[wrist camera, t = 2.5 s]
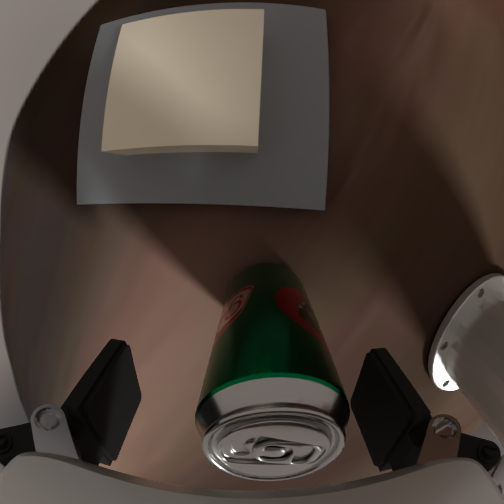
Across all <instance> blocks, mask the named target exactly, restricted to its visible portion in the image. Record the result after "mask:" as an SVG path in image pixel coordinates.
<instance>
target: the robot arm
mask: <svg viewBox="0 0 504 504" xmlns="http://www.w3.org/2000/svg"><path fill="white" fill-rule="evenodd" d="M428 371H429V375H430V377H431V380H432V381H433V382H434V383H435V385H436V386H437V387H438V388H440V389H441V390H446V391H451V390H457V389H460V390H461V391H462V393H463V394H464V395H465V396H466V398H467V399H468V400H469V402H470V403H471V404H472V405H473V407H474V408H475V409H476V411H477V412H478V413H479V415H480V416H481V417H482V419H483V420H484V421H485V423H486V424H487V426H488V427H489V428H490V430H491V431H492V433H493V434H494V435H495V437H496V438H497V440H498V441H499V442H500V444H501V446H502V447H503V448H504V275H501V274H499V273H492V274H488V275H485V276H483V277H482V278H480V279H478V280H477V281H475V282H474V283H473V284H472V285H471V286H469V287H468V288H467V289H466V290H465V291H464V292H463V293H462V295H461V296H460V297H459V298H458V299H457V300H456V302H455V303H454V304H453V306H452V307H451V308H450V310H449V311H448V313H447V315H446V316H445V318H444V319H443V321H442V323H441V325H440V327H439V329H438V331H437V333H436V336H435V338H434V341H433V343H432V346H431V350H430V354H429V360H428ZM140 401H141V391H140V387H139V383H138V379H137V375H136V371H135V367H134V362H133V358H132V353H131V349H130V346H129V345H127V344H126V342H125V341H122V340H116V339H111V340H110V341H109V342H108V343H107V344H106V346H105V347H104V348H103V350H102V351H101V352H100V354H99V355H98V356H97V358H96V359H95V360H94V362H93V363H92V364H91V366H90V367H89V368H88V370H87V371H86V372H85V374H84V375H83V377H82V378H81V379H80V381H79V382H78V384H77V385H76V386H75V388H74V389H73V391H72V392H71V393H70V395H69V396H68V398H67V399H66V401H65V402H64V404H63V405H62V406H61V408H59V407H57V406H55V405H43V406H40V407H39V408H37V409H36V410H35V411H34V412H33V413H32V416H31V422H30V423H26V424H22V425H18V426H13V427H8V428H4V429H0V504H504V455H503V456H502V457H501V455H500V449H499V447H498V446H497V445H496V444H495V443H494V442H492V441H489V440H485V439H481V438H477V437H474V436H470V435H467V434H463V433H461V426H460V424H459V422H458V421H457V420H456V419H455V418H454V417H452V416H449V415H445V414H440V415H436V416H434V417H433V418H432V417H431V415H430V413H431V412H430V411H429V409H428V408H427V406H426V405H425V403H424V402H423V400H422V399H421V397H420V396H419V394H418V393H417V391H416V390H415V389H414V387H413V386H412V384H411V383H410V381H409V380H408V379H407V377H406V376H405V374H404V373H403V371H402V370H401V369H400V367H399V366H398V365H397V363H396V362H395V360H394V359H393V358H392V356H391V355H390V354H389V352H388V351H387V349H385V348H378V349H372V350H371V351H370V352H369V353H367V354H366V356H365V360H364V363H363V366H362V369H361V372H360V375H359V378H358V381H357V384H356V387H355V390H354V392H353V395H352V398H351V408H352V411H353V413H354V415H355V418H356V420H357V423H358V425H359V428H360V430H361V433H362V435H363V438H364V441H365V443H366V446H367V448H368V451H369V453H370V456H371V459H372V461H373V464H374V465H375V466H378V468H379V470H380V472H381V471H384V470H388V469H391V468H392V470H393V471H392V472H389V473H385V474H381V475H377V476H373V477H369V478H364V479H360V480H355V481H350V482H345V483H340V484H334V485H327V486H320V487H312V488H303V489H291V490H274V491H235V490H218V489H206V488H197V487H189V486H182V485H175V484H169V483H164V482H159V481H154V480H149V479H145V478H140V477H136V476H132V475H128V474H124V473H121V472H117V471H114V470H110V469H107V468H104V467H101V466H98V465H99V463H102V464H105V465H108V466H110V465H111V463H112V460H114V461H115V460H116V459H117V457H118V455H119V452H120V450H121V447H122V445H123V442H124V440H125V437H126V435H127V432H128V430H129V427H130V425H131V423H132V420H133V418H134V415H135V413H136V411H137V408H138V406H139V404H140Z"/></svg>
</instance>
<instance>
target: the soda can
mask: <svg viewBox="0 0 504 504" xmlns="http://www.w3.org/2000/svg"><path fill="white" fill-rule="evenodd" d="M349 416H350V408H349V403H348V400H347V397H346V395H345V392H344V389H343V386H342V384H341V381H340V378H339V376H338V373H337V370H336V368H335V365H334V362H333V360H332V357H331V355H330V352H329V349H328V347H327V344H326V342H325V339H324V336H323V334H322V331H321V329H320V326H319V324H318V321H317V319H316V316H315V314H314V311H313V309H312V306H311V304H310V301H309V299H308V297H307V294H306V292H305V289H304V287H303V285H302V283H301V281H300V279H299V278H298V277H297V276H296V275H295V274H294V273H293V272H292V271H291V270H289V269H288V268H285V267H283V266H281V265H277V264H272V263H261V264H256V265H253V266H250V267H248V268H246V269H244V270H243V271H241V272H240V273H239V274H238V275H237V276H236V277H235V278H234V280H233V281H232V282H231V284H230V286H229V289H228V293H227V296H226V300H225V304H224V307H223V311H222V315H221V318H220V322H219V326H218V329H217V333H216V337H215V341H214V344H213V348H212V352H211V356H210V359H209V363H208V367H207V371H206V375H205V378H204V382H203V386H202V390H201V394H200V398H199V401H198V405H197V409H196V413H195V424H196V427H197V430H198V432H199V434H200V436H201V438H202V450H203V453H204V455H205V457H206V458H207V459H208V461H209V462H210V463H211V464H213V465H214V466H215V467H217V468H218V469H220V470H222V471H223V472H226V473H228V474H230V475H233V476H236V477H240V478H244V479H249V480H257V481H279V480H287V479H293V478H297V477H301V476H305V475H307V474H310V473H313V472H315V471H317V470H319V469H321V468H323V467H324V466H326V465H328V464H329V463H330V462H332V461H333V460H334V459H335V458H336V457H337V456H338V455H339V454H340V452H341V451H342V449H343V447H344V444H345V437H346V434H345V428H346V426H347V423H348V420H349Z"/></svg>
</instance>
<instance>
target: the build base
mask: <svg viewBox="0 0 504 504" xmlns="http://www.w3.org/2000/svg"><path fill="white" fill-rule="evenodd" d="M328 148H329V56H328V35H327V20H326V10H325V9H319V8H313V7H306V6H298V5H288V4H276V3H253V2H235V3H212V4H200V5H190V6H182V7H175V8H168V9H163V10H157V11H152V12H147V13H143V14H138V15H134V16H130V17H126V18H122V19H119V20H115V21H112V22H108V23H105V24H102V25H101V26H100V29H99V33H98V36H97V40H96V43H95V47H94V51H93V55H92V59H91V63H90V68H89V72H88V77H87V82H86V88H85V94H84V100H83V107H82V114H81V122H80V132H79V143H78V159H77V205H79V204H117V203H180V204H220V205H246V206H266V207H283V208H298V209H312V210H324V211H325V202H326V188H327V171H328Z"/></svg>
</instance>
